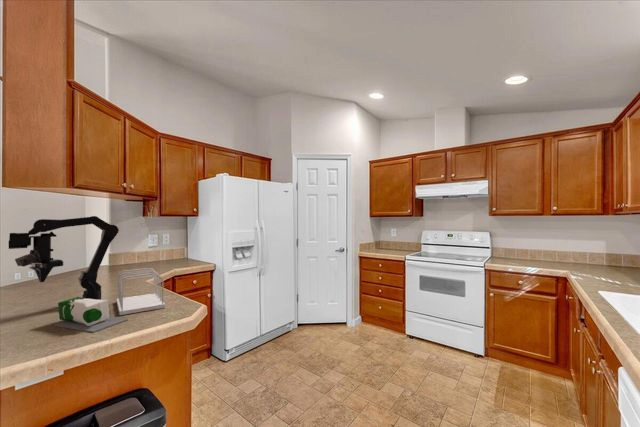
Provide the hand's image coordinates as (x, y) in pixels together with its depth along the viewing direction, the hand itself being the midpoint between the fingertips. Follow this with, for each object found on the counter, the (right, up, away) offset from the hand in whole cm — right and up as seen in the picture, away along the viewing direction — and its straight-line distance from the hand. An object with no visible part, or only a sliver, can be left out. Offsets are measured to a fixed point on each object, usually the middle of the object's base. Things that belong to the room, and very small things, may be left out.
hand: (41, 282), depth 128 cm
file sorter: (+38, -13, +9) cm, 42 cm away
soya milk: (+21, -8, -10) cm, 25 cm away
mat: (+34, -13, -14) cm, 39 cm away
